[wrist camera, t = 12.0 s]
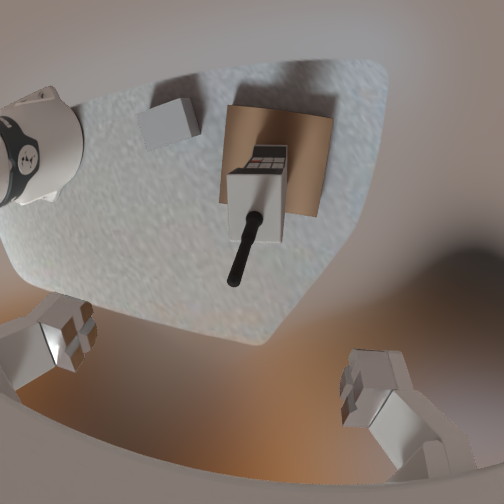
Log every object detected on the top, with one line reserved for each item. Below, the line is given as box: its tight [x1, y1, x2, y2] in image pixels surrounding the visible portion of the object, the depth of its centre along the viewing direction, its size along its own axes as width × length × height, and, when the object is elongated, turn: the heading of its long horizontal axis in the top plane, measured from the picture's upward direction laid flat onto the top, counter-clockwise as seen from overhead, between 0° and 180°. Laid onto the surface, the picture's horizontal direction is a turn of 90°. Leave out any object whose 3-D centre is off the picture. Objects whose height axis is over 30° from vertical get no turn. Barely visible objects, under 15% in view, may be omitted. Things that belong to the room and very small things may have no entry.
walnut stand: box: [219, 105, 333, 217], centre depth 38 cm, size 12×12×3 cm
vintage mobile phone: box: [226, 145, 287, 287], centre depth 25 cm, size 4×5×25 cm
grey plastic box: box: [136, 98, 201, 152], centre depth 37 cm, size 6×5×4 cm
